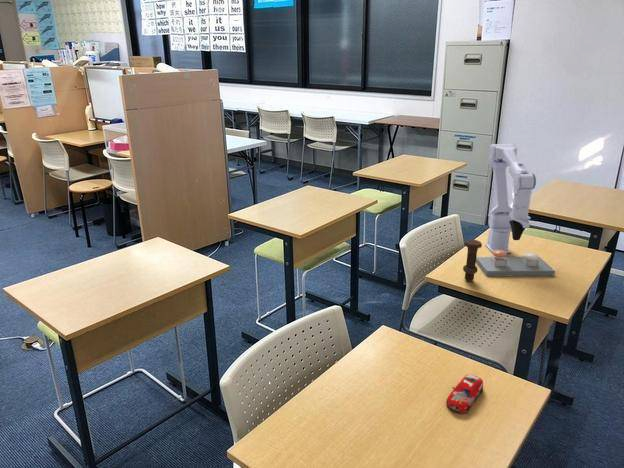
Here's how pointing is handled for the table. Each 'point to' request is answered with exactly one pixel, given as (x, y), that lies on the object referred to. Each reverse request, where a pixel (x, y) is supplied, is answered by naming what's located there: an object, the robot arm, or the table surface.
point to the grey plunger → (531, 256)
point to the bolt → (471, 259)
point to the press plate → (514, 266)
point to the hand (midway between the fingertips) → (516, 239)
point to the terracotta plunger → (499, 254)
